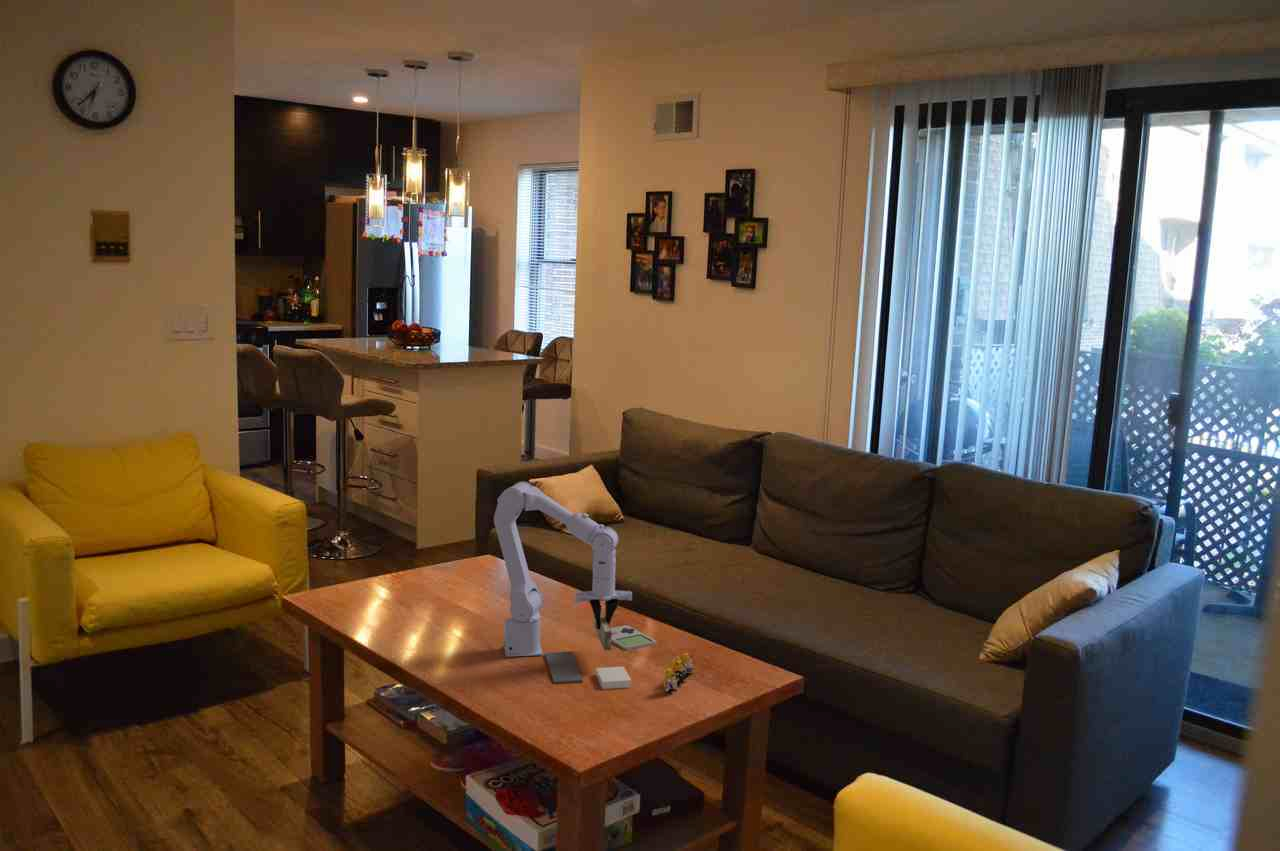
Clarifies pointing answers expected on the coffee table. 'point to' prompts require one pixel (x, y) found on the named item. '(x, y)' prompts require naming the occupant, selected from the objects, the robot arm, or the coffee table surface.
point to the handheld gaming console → (630, 638)
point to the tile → (613, 677)
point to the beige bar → (604, 632)
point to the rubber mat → (563, 667)
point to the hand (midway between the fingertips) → (602, 627)
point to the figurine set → (678, 672)
